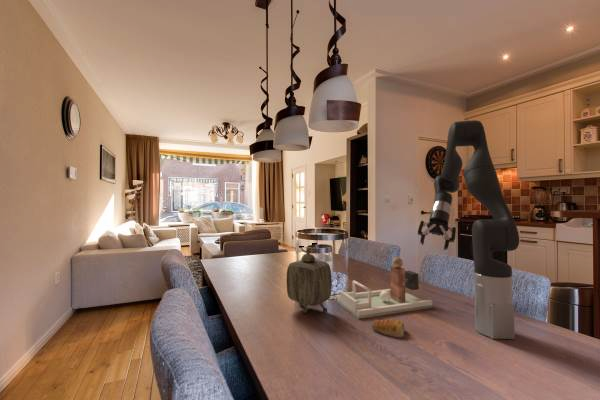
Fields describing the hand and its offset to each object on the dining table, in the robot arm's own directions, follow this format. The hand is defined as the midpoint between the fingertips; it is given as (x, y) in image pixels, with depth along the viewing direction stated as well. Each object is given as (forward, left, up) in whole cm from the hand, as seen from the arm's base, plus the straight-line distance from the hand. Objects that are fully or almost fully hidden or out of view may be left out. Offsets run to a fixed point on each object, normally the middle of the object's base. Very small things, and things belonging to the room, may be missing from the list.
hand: (433, 246), depth 119 cm
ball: (-12, +23, -17) cm, 30 cm away
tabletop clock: (-19, +52, -20) cm, 58 cm away
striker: (-9, +15, -18) cm, 25 cm away
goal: (-16, +35, -19) cm, 42 cm away
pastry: (-34, +27, -20) cm, 48 cm away
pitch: (-12, +24, -20) cm, 33 cm away
